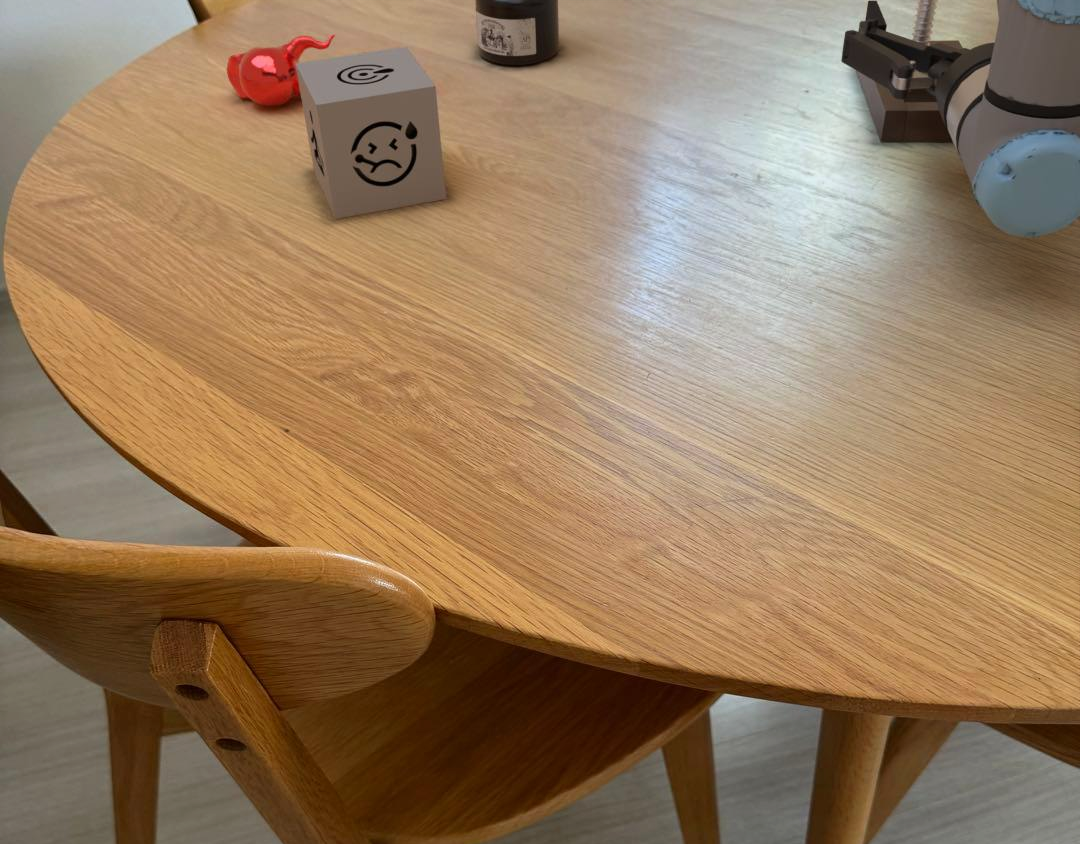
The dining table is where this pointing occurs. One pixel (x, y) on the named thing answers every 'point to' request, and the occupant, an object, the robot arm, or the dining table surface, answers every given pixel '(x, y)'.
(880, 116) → the brown divided frame
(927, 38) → the screw
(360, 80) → the icon cube
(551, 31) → the ink bottle
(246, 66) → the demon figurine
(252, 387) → the dining table surface
